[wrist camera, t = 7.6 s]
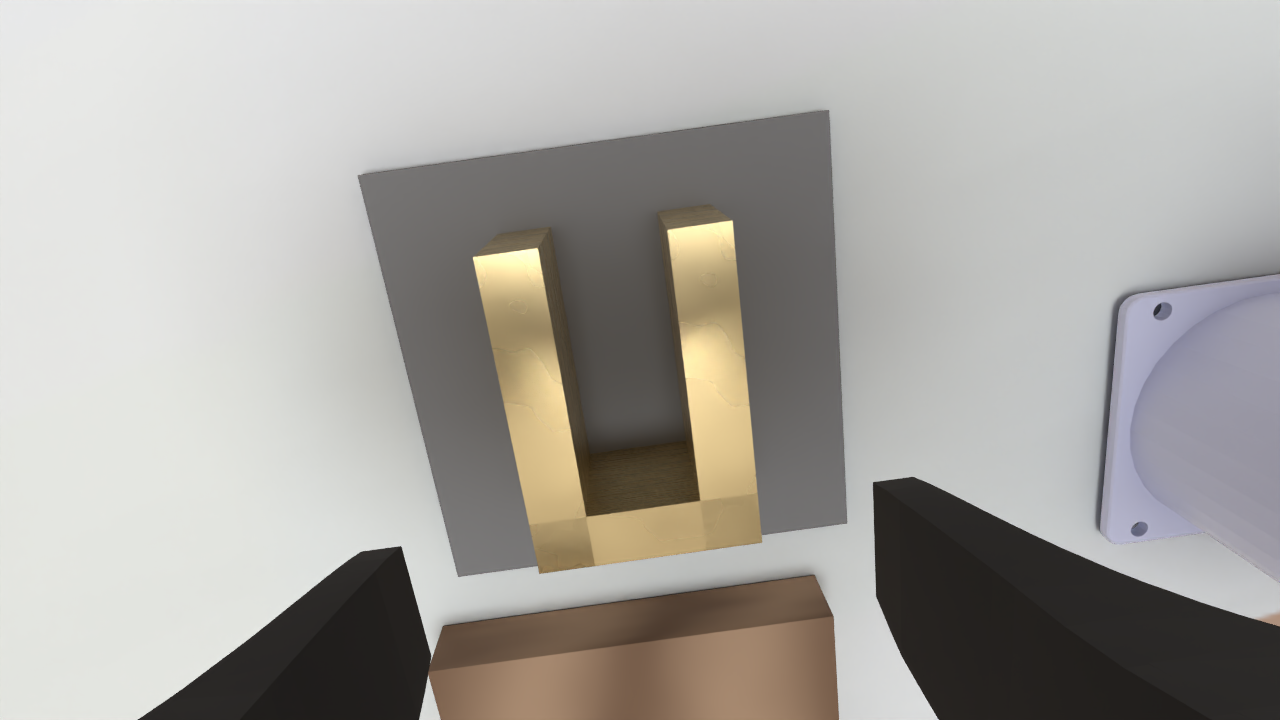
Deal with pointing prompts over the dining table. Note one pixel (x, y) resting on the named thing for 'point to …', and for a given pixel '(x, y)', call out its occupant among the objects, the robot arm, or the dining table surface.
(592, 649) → the peg stand
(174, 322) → the dining table surface
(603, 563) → the u link
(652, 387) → the mat
